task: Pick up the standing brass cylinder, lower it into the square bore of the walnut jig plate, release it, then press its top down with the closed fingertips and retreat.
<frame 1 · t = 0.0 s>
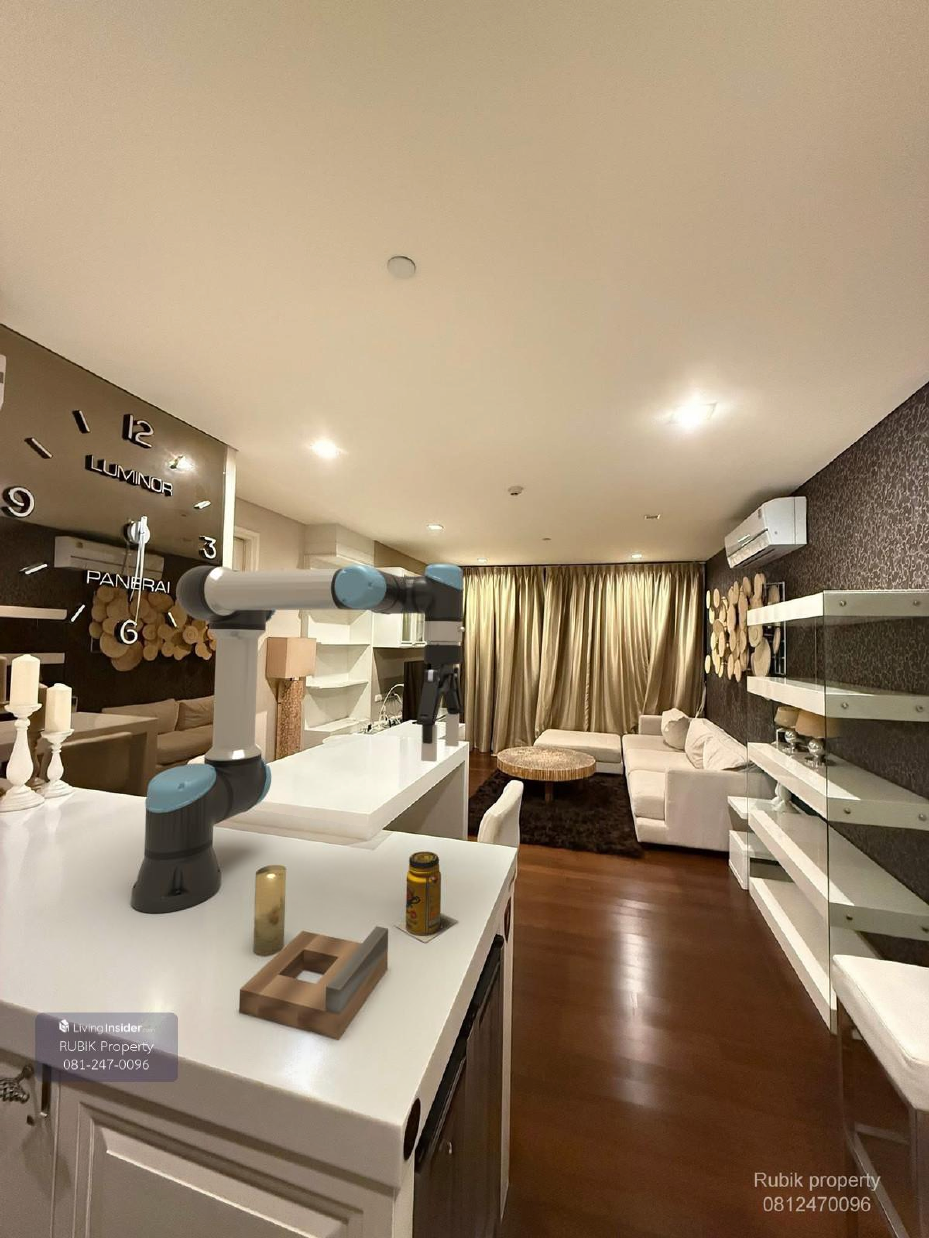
hand: (441, 753, 97), 28 cm above the worktop, fingers open, 13 cm apart
brass cylinder: (268, 947, 80), on the worktop
jig: (318, 989, 71), on the worktop
condiment: (427, 925, 87), on the worktop
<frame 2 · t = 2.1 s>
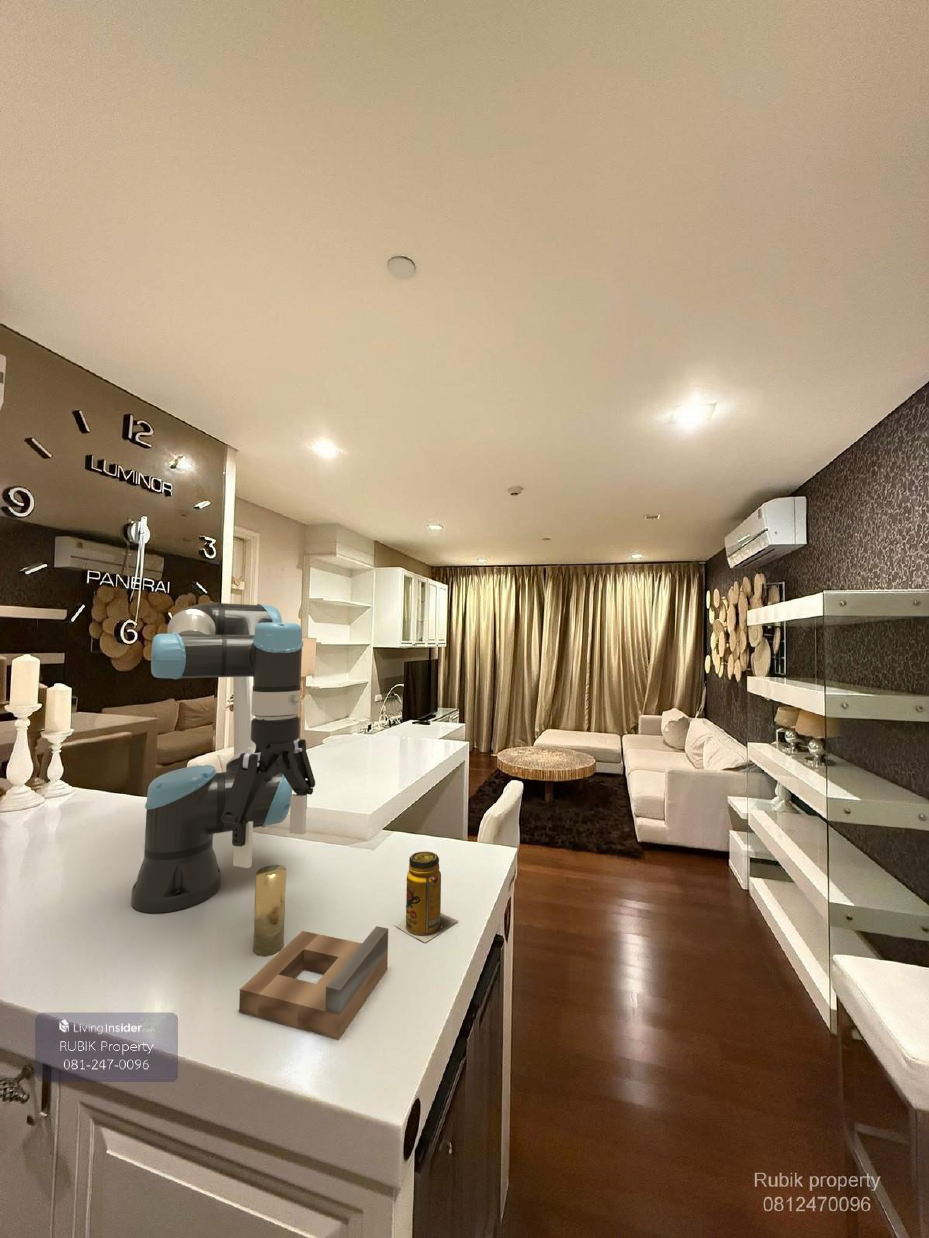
hand: (272, 848, 81), 16 cm above the worktop, fingers open, 13 cm apart
nothing on the worktop moved.
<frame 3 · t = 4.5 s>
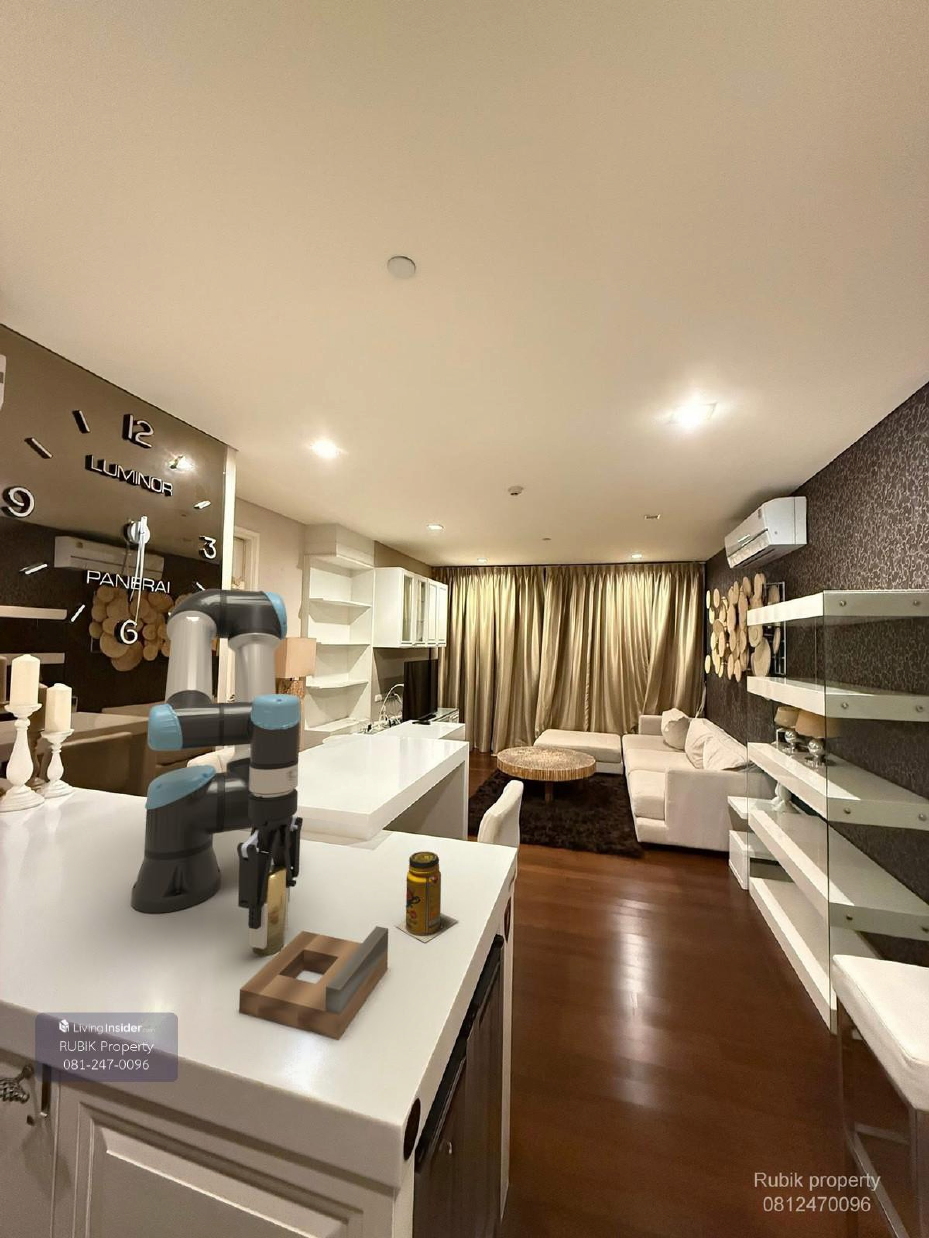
hand: (269, 936, 80), 2 cm above the worktop, fingers closed on brass cylinder, 4 cm apart
brass cylinder: (268, 946, 80), on the worktop, touching gripper
everything else where it was.
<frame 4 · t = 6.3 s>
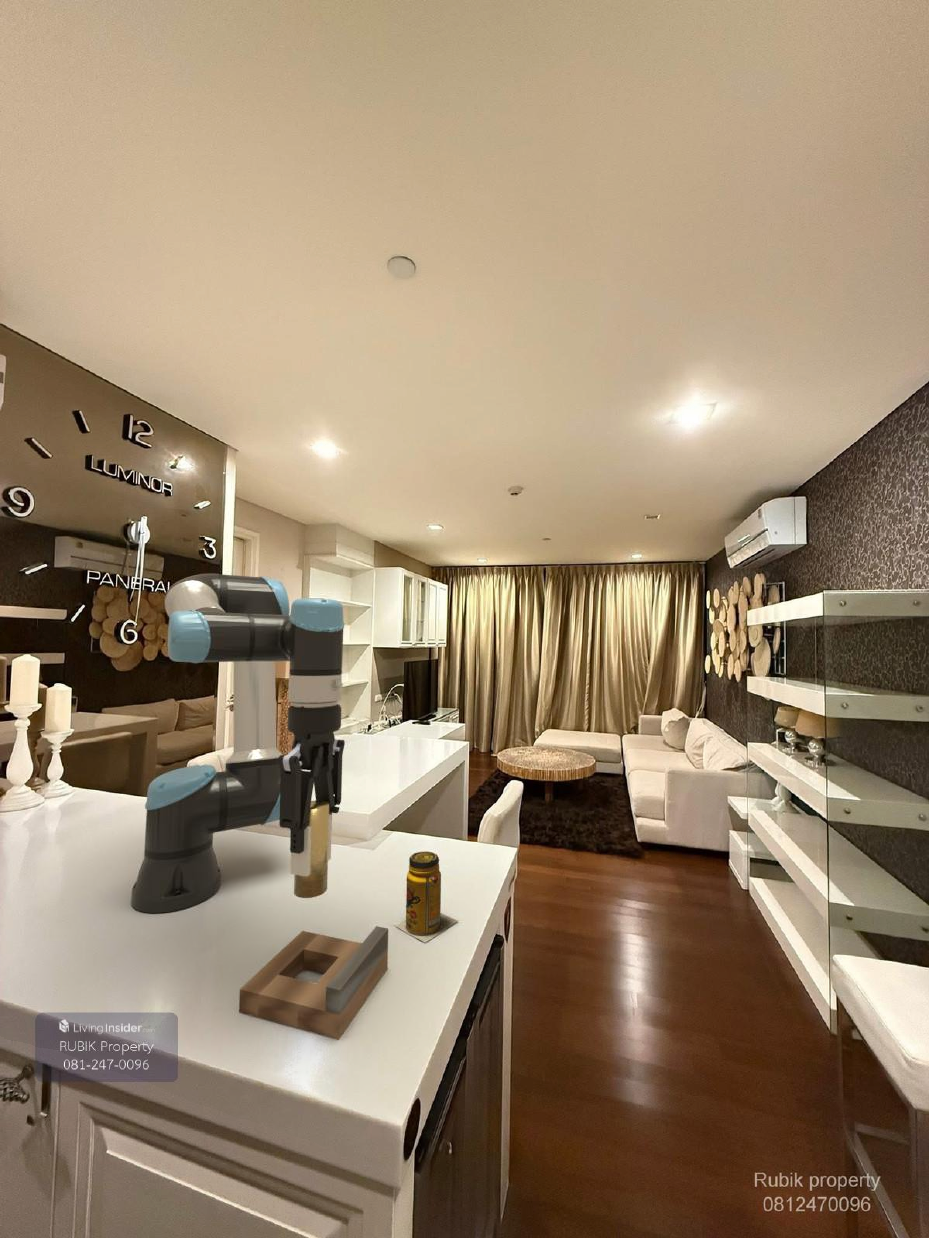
hand: (311, 865, 72), 17 cm above the worktop, fingers closed on brass cylinder, 4 cm apart
brass cylinder: (310, 889, 72), point 14 cm above the worktop, touching gripper
everything else where it was.
when the fingers open (4 cm above the worktop, at t = 8.6 s): brass cylinder stays where it is, resting in jig.
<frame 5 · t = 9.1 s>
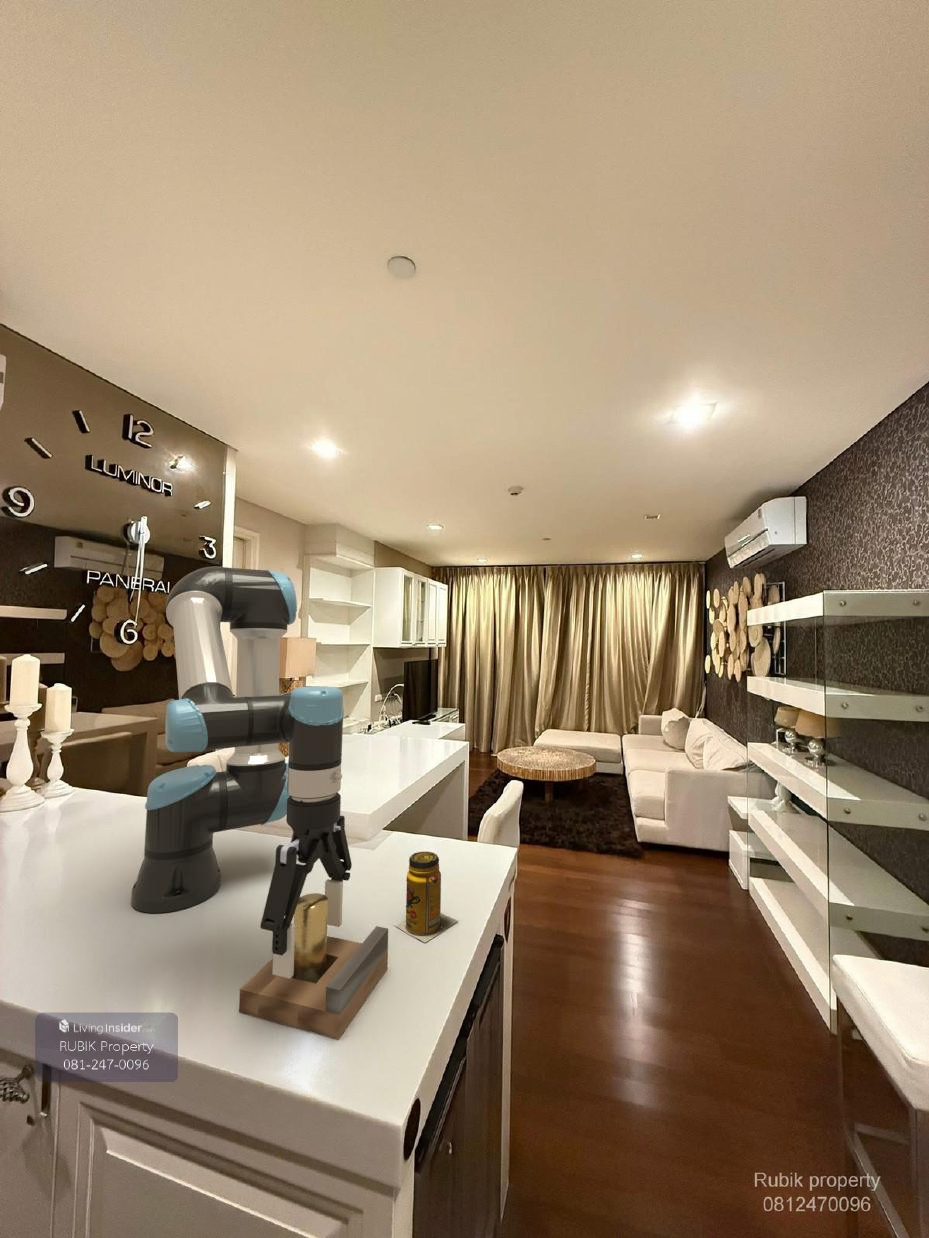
hand: (310, 947, 71), 5 cm above the worktop, fingers open, 11 cm apart
brass cylinder: (308, 986, 71), resting in jig
everything else where it was.
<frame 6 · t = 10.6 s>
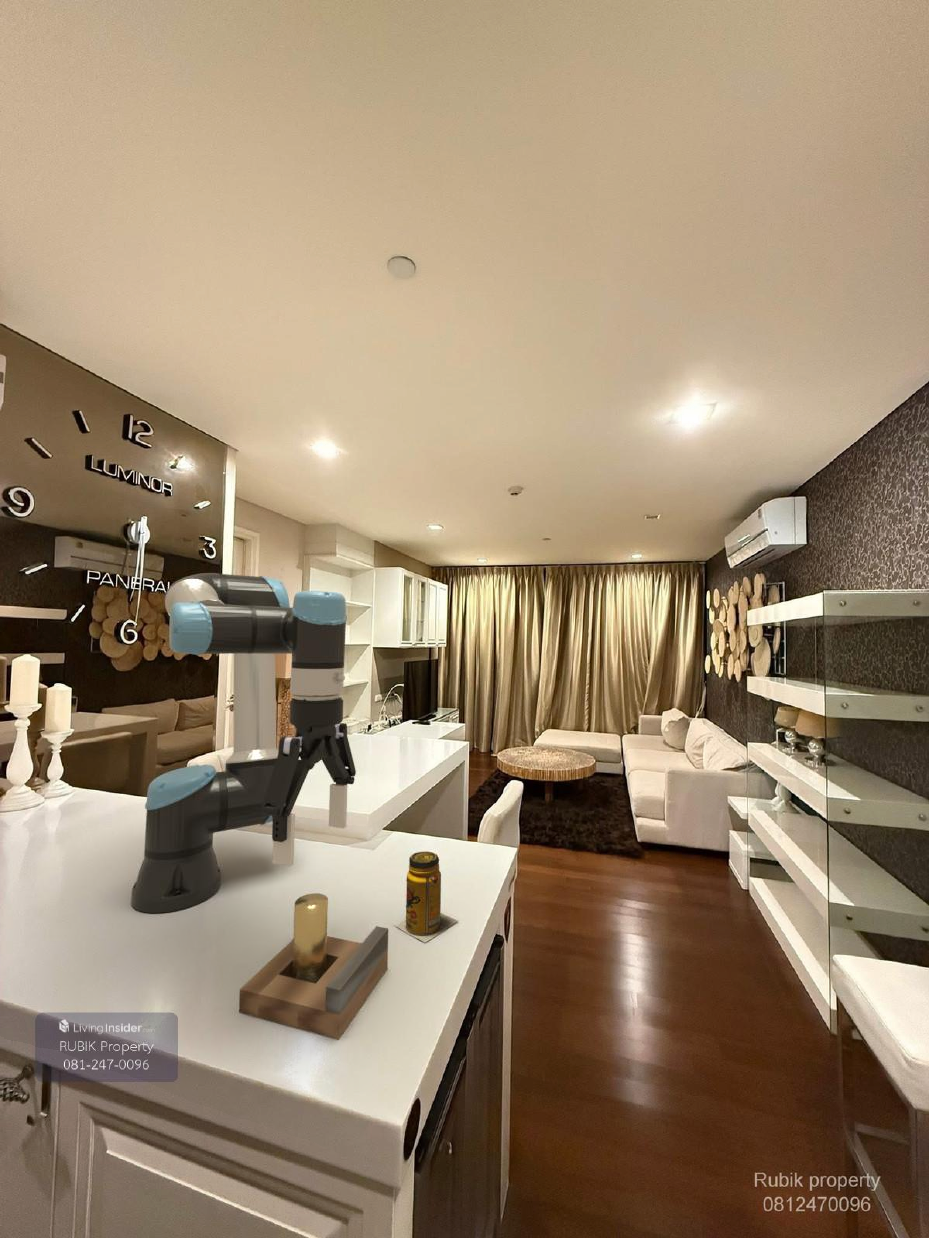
hand: (312, 843, 72), 20 cm above the worktop, fingers open, 13 cm apart
nothing on the worktop moved.
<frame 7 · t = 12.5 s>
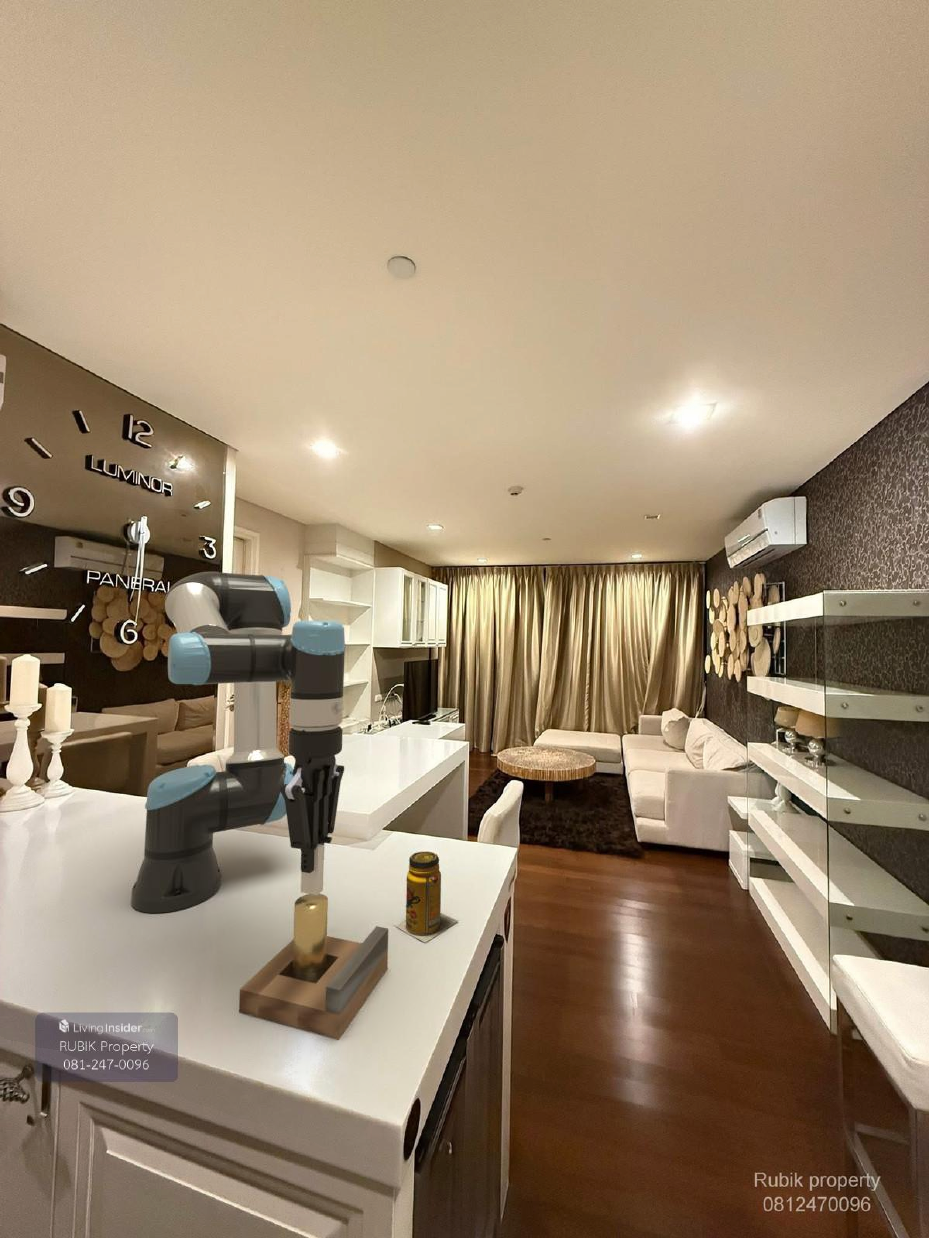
hand: (311, 891, 72), 13 cm above the worktop, fingers closed
nothing on the worktop moved.
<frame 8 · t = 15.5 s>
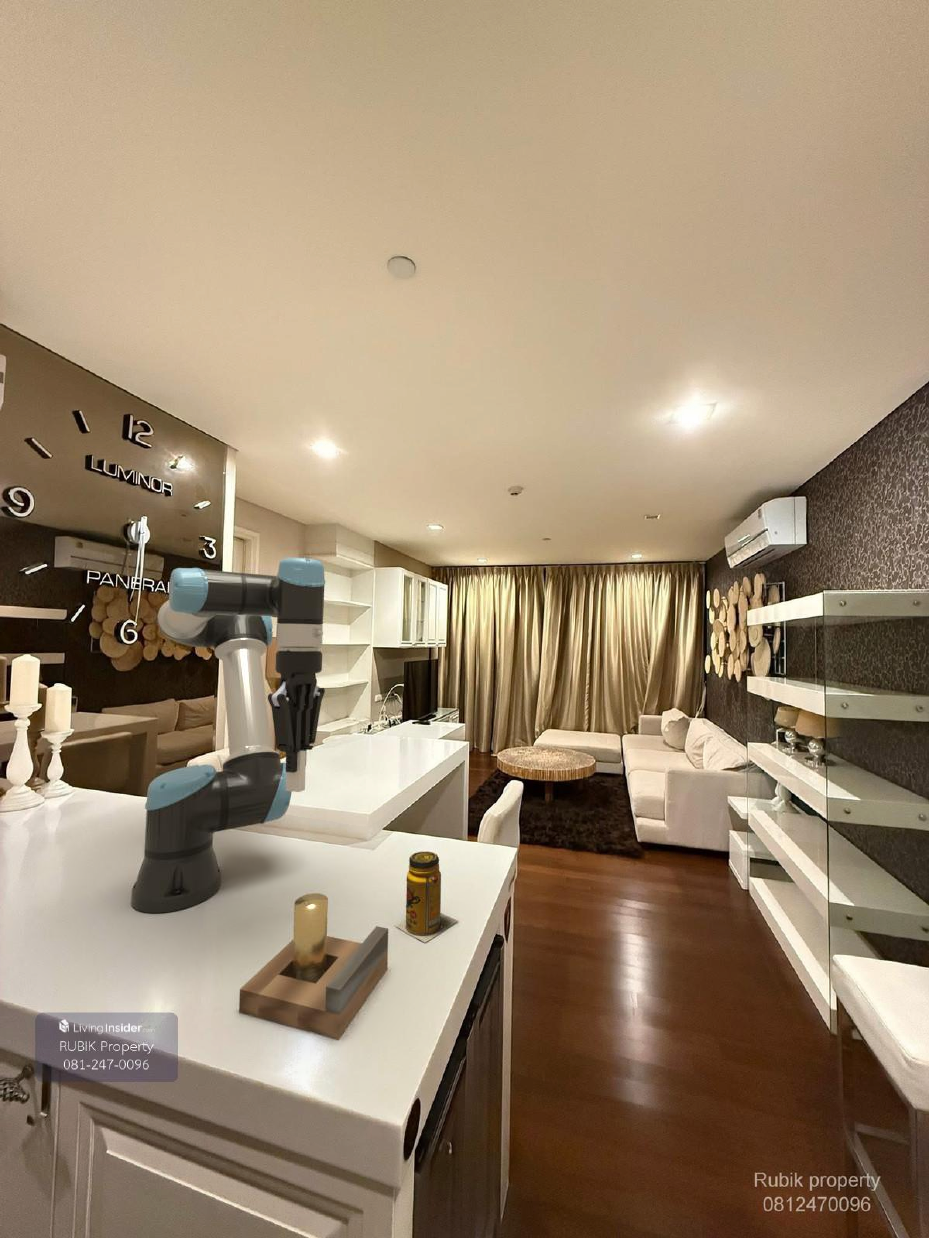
hand: (295, 789, 84), 24 cm above the worktop, fingers closed
nothing on the worktop moved.
at the end: brass cylinder 0.0 cm from the target spot on the jig, point 0.0 cm above the jig's base; brass cylinder tilted 0°; the gripper is holding nothing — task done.
